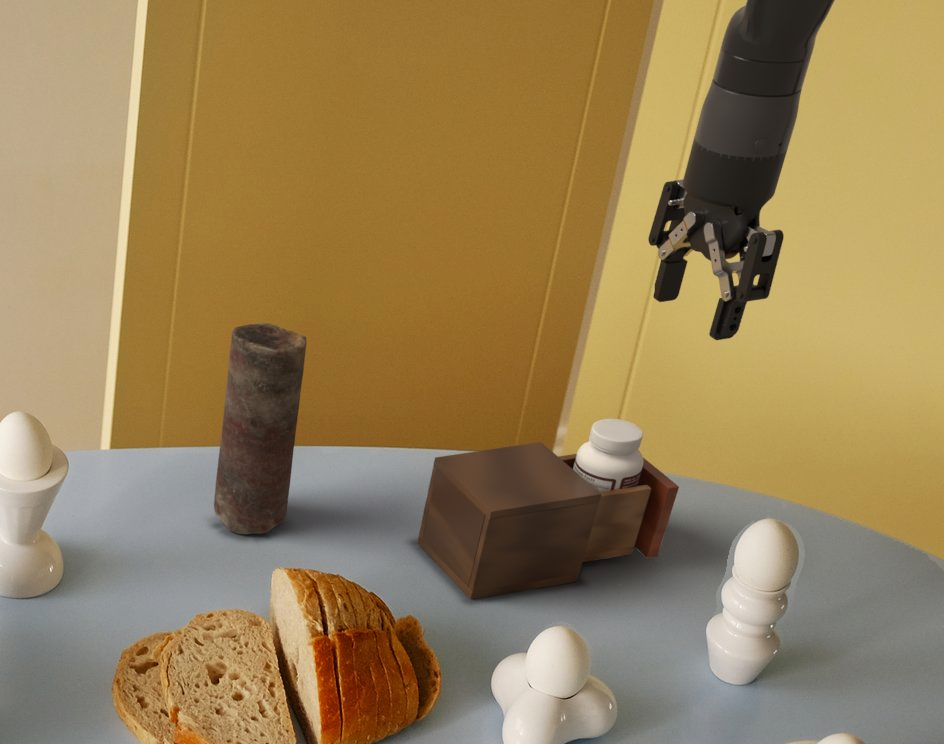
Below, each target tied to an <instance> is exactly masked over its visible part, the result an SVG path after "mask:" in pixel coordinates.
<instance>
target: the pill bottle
mask: <svg viewBox="0 0 944 744" xmlns="http://www.w3.org/2000/svg"><path fill="white" fill-rule="evenodd" d="M643 438H644V432H643V430H642V429H641V427H640V426H638V425H637V424H635V423H633V422H631V421H627V420H624V419H619V418H604V419H598V420H597V421H596V422H593V424H592V426H591V429H590V432H589V437H588V441H586V442H585V443H583V444H581V446H580V447H579V448H578V450H577V452H576V454H577V456H576V459H575V463H574V467H573V470H574V471H575V472H576V473H577V474H579V475H580V476H581V477H582V478H583V479H584V480H586V481H587V482H588V483H589V484H590V485H591V486H592V487H594V488H595V489H596V490H597V491H598V492H604V491H610V490H616V489H623V488H629V487H636V486H637V485H638V482H639V478H640V475H641V471H642V467H643V462H644V461H643V458H644V456H643V454H642V452H641V451H640V450H639V449H640V446H641V444H642V440H643Z"/></svg>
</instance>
